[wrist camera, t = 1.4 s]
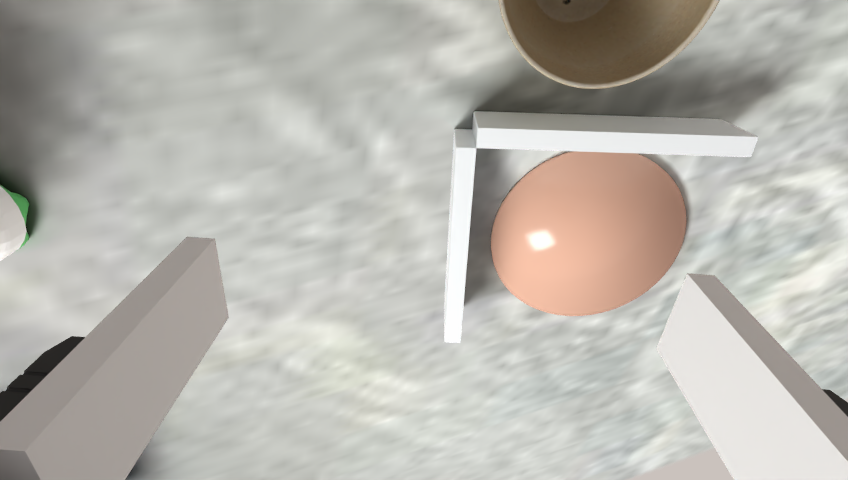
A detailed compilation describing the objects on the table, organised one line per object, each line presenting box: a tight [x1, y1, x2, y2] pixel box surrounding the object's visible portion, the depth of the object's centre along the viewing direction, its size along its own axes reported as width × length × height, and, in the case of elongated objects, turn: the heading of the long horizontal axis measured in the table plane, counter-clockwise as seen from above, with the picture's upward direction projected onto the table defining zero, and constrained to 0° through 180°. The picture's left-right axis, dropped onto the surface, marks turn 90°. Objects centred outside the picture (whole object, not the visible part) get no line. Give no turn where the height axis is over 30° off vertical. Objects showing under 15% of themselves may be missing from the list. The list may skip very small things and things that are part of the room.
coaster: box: [491, 151, 686, 316], centre depth 34 cm, size 14×14×1 cm
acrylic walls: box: [444, 111, 758, 343], centre depth 32 cm, size 16×17×4 cm
